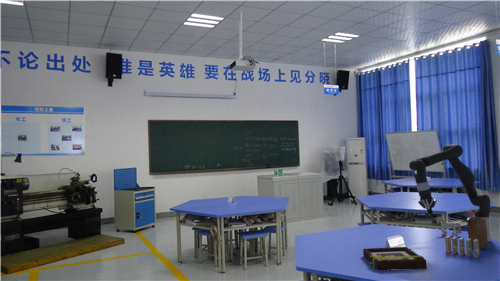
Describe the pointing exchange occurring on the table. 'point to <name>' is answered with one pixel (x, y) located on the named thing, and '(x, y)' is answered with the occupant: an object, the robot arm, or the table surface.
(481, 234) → the block
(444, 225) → the unicorn figurine
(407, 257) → the picture frame
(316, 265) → the table surface
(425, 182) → the robot arm
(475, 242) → the domino
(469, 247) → the domino
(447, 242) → the domino
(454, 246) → the domino
